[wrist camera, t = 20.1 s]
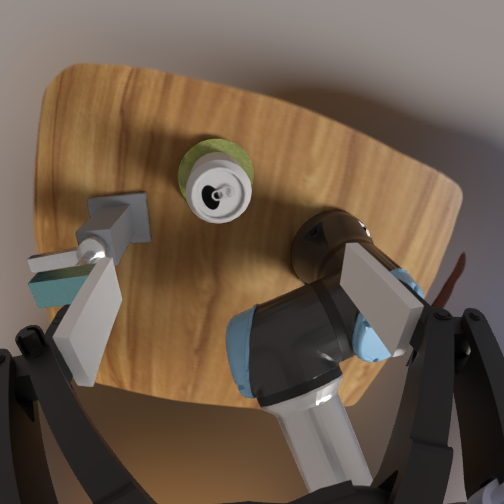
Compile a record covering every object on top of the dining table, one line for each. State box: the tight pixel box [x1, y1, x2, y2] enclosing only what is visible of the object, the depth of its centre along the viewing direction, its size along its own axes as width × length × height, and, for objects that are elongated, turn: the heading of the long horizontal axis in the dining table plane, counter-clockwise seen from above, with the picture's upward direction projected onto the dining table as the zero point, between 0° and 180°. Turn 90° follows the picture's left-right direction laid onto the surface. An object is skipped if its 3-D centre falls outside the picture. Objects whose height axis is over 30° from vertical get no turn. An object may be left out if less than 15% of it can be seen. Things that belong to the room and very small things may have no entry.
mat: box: [178, 139, 254, 200], centre depth 42 cm, size 11×11×2 cm
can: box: [186, 152, 252, 223], centre depth 36 cm, size 8×8×12 cm
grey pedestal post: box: [76, 192, 152, 266], centre depth 38 cm, size 10×8×12 cm
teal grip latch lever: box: [27, 235, 109, 308], centre depth 28 cm, size 4×15×10 cm, turn 95°
